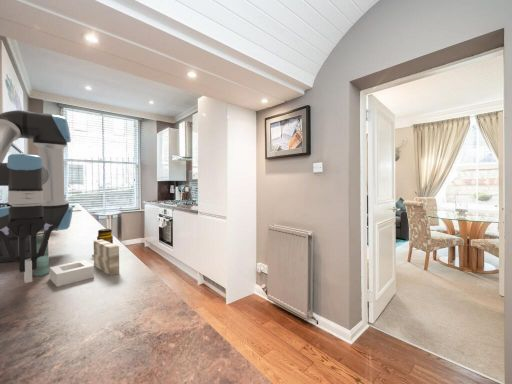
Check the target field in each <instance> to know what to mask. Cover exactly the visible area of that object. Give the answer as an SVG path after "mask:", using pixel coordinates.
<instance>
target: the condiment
mask: <svg viewBox="0 0 512 384" xmlns="http://www.w3.org/2000/svg"><path fill="white" fill-rule="evenodd" d="M101 239H102V240H105V241H108V242H110V243H113V244H114V242H113V241H114V240H113V239H114V235H113V231H112V229H111V228H102V229H98V231H97V236H96V240H101ZM90 260H94V254H91V259H90Z"/></svg>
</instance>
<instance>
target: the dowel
mask: <svg viewBox="0 0 512 384" xmlns="http://www.w3.org/2000/svg"><path fill="white" fill-rule="evenodd" d="M42 238H43V234H37V237H36V245H37V253H38V251H39V248H40V245H41V241H42ZM49 261H50V260H49V243H48V244H47V247H46V251H45V254H44V256H41V257H39V258H37V268H36V269H35V270H33V277H42V276H46V275H48V274H50V265H49V264H50V263H49Z"/></svg>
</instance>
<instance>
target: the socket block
mask: <svg viewBox="0 0 512 384" xmlns="http://www.w3.org/2000/svg"><path fill="white" fill-rule="evenodd" d="M92 278H95V266H94V264H92V263H90V262H88V261H87V260H85V259H83V260H78V261H73V262H69V263H63V264H59V265H54V266H49V279H50V281H51V282H52V283H53V284H54V285H55V287H57V288H58V287H62V286H65V285H70V284H73V283H77V282H80V281H85V280H89V279H92Z"/></svg>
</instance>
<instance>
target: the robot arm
mask: <svg viewBox="0 0 512 384" xmlns="http://www.w3.org/2000/svg"><path fill="white" fill-rule="evenodd" d="M19 139H28V140H29V139H31V140H32V144H33V145H35V146H36V147H37V154H38V155H36V154H28V153H26V154H25V153H10V154H9V155H8V156H7V154H8V152H9V151H10V149H11V147H12V145H13V143H14V142H15V141H17V140H19ZM71 141H72V140H71V133H70V127H69V124H68V121H67V119H66V117H64V116H61V115H55V114H54V113H53V114H50V113H42V112H34V111H27V110H16V109H15V110H9V111H5V112H2V113H0V187H2V186H3V187H7V186H8V190H7V198H8V199H7V200H8V205H10V206H4V207H3V206H2V207H0V263H8V262H18V272H20V273H23V277H24V278H23V282H24V283H25V284H27V283H32V282H33V271H34V270H35V269H36V268H37V258H39V257H41V256H44V254H45V251H46V247H47V244H48V245H49V240H50V238H51V237H50V236H51V233H52V232H54V231H56V232H58V231H64V230H68V229H70V227H71V222H72V216H73V208H74V207H73V205H71V204H70V202H69V200H66V198H65V177H64V176H65V174H64V173H65V172H64V154H63V153H64V149H65V148H67V146H68V143H71ZM6 157H7V162H4V161H5V159H6ZM69 204H70V205H69ZM41 232H43V234H42V235H43V238H42V241H41V245H40V248H39V251H38V253H37V245H36V237H37V235H38V233H41Z"/></svg>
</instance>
